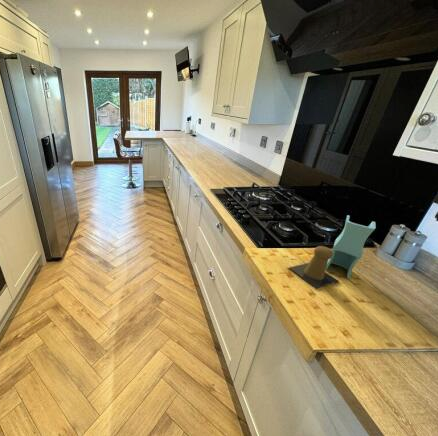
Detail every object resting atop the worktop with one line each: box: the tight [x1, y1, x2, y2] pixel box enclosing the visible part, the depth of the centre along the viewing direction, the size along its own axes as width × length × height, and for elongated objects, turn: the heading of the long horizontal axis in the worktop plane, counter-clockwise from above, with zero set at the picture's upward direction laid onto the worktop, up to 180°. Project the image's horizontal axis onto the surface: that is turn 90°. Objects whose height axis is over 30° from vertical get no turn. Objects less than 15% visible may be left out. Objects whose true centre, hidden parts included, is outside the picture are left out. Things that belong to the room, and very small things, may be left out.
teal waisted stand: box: [326, 214, 377, 279], centre depth 84 cm, size 8×8×20 cm
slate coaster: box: [288, 262, 340, 289], centre depth 85 cm, size 11×11×1 cm
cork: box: [304, 245, 333, 280], centre depth 82 cm, size 6×6×11 cm
